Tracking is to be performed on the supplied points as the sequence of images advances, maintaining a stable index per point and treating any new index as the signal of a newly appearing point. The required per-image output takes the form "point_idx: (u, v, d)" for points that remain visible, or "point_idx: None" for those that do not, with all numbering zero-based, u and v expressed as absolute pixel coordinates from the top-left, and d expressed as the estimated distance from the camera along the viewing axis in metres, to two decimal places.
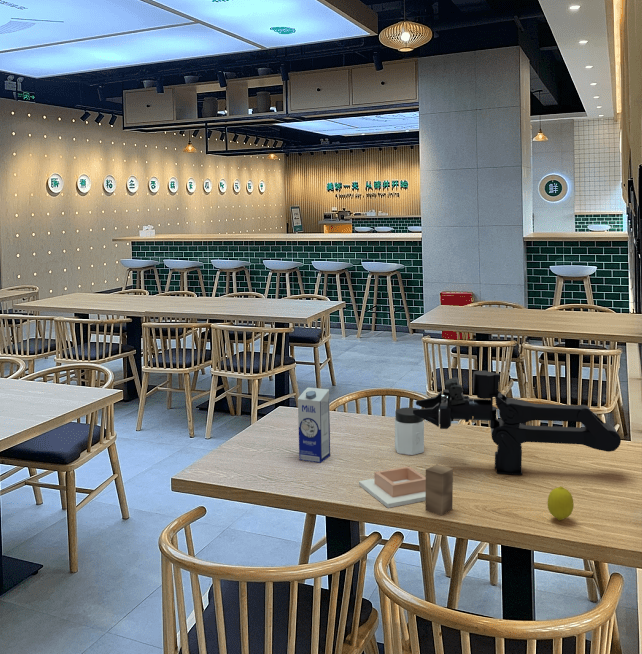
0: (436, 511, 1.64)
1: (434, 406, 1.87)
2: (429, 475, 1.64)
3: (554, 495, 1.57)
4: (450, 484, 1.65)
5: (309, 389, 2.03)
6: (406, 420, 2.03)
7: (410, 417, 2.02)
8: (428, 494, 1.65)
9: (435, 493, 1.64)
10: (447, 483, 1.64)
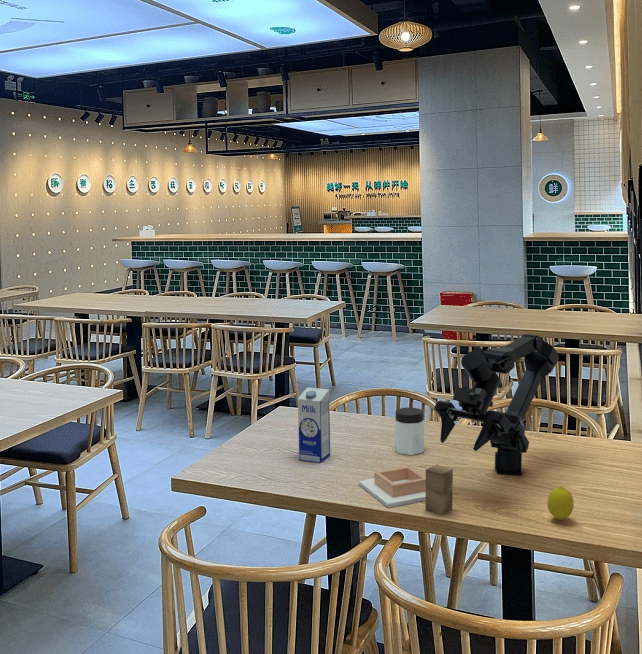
0: (436, 511, 1.64)
1: (483, 426, 1.67)
2: (429, 475, 1.64)
3: (554, 495, 1.57)
4: (450, 484, 1.65)
5: (309, 389, 2.03)
6: (406, 420, 2.03)
7: (410, 417, 2.02)
8: (428, 494, 1.65)
9: (435, 493, 1.64)
10: (447, 483, 1.64)
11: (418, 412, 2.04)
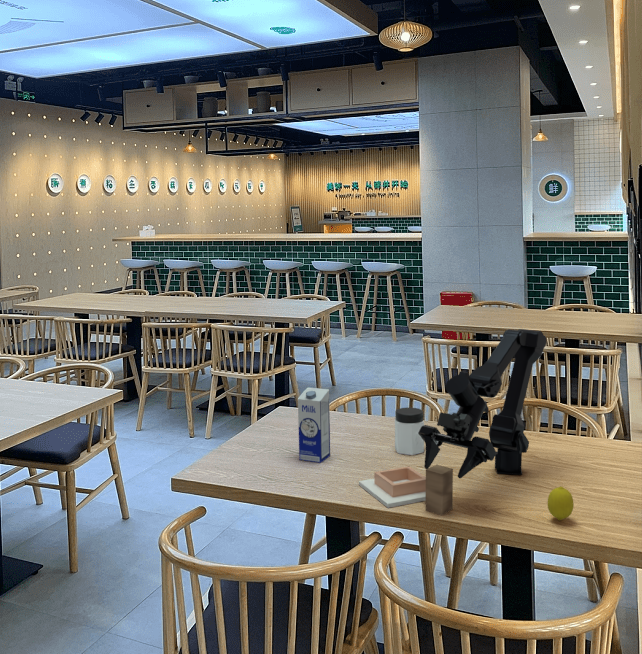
0: (436, 511, 1.64)
1: (468, 452, 1.63)
2: (429, 475, 1.64)
3: (554, 495, 1.57)
4: (450, 484, 1.65)
5: (309, 389, 2.03)
6: (406, 420, 2.03)
7: (410, 417, 2.02)
8: (428, 494, 1.65)
9: (435, 493, 1.64)
10: (447, 483, 1.64)
11: (418, 412, 2.05)
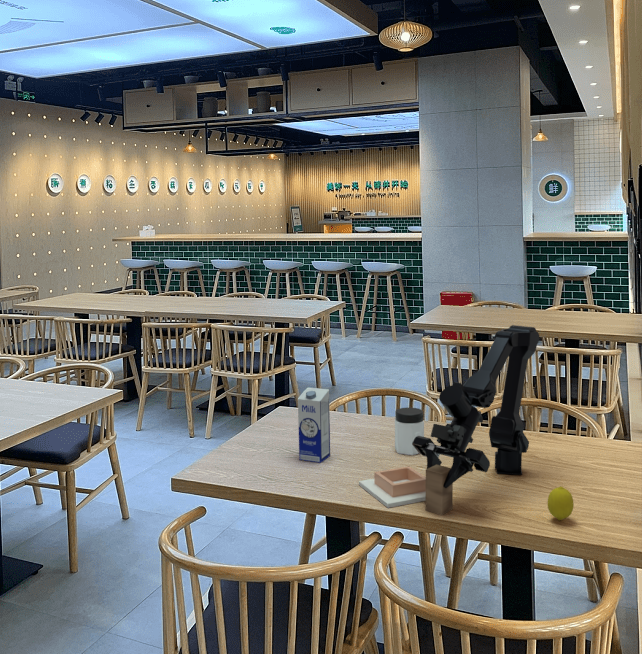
0: (436, 511, 1.64)
1: (453, 462, 1.63)
2: (429, 475, 1.64)
3: (554, 495, 1.57)
4: None
5: (309, 389, 2.03)
6: (406, 420, 2.03)
7: (410, 417, 2.02)
8: (428, 494, 1.65)
9: (435, 493, 1.63)
10: None
11: (418, 412, 2.05)
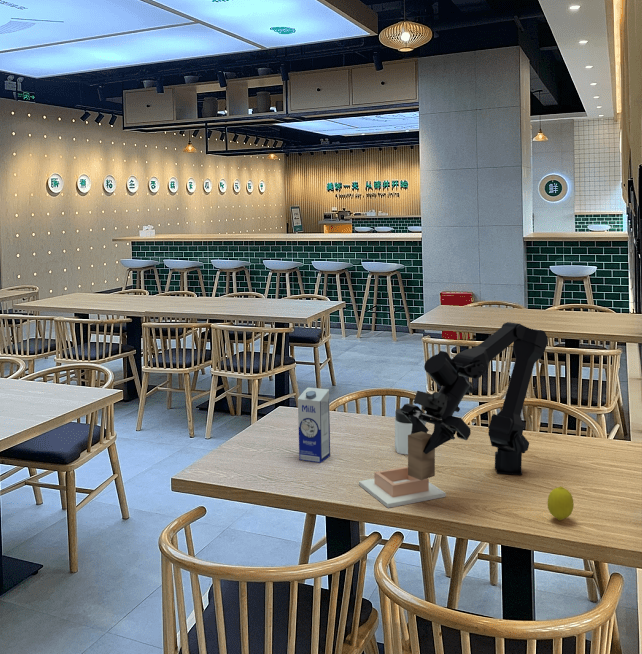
0: (417, 476, 1.67)
1: (434, 429, 1.66)
2: (411, 440, 1.68)
3: (554, 495, 1.57)
4: (432, 450, 1.67)
5: (309, 389, 2.03)
6: (406, 420, 2.03)
7: None
8: (410, 459, 1.69)
9: (415, 459, 1.67)
10: None
11: None
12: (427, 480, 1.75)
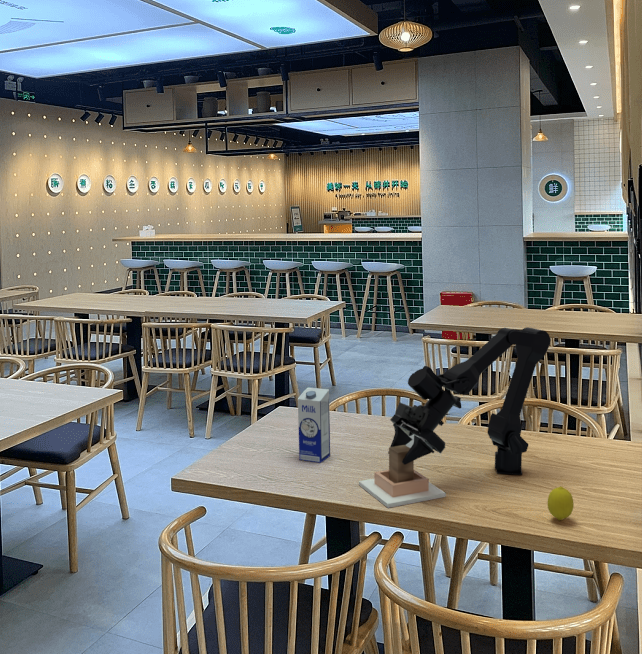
0: None
1: (414, 441, 1.72)
2: (390, 453, 1.77)
3: (554, 495, 1.57)
4: (410, 464, 1.75)
5: (309, 389, 2.03)
6: None
7: None
8: (390, 470, 1.78)
9: (394, 470, 1.76)
10: None
11: None
12: (427, 480, 1.75)
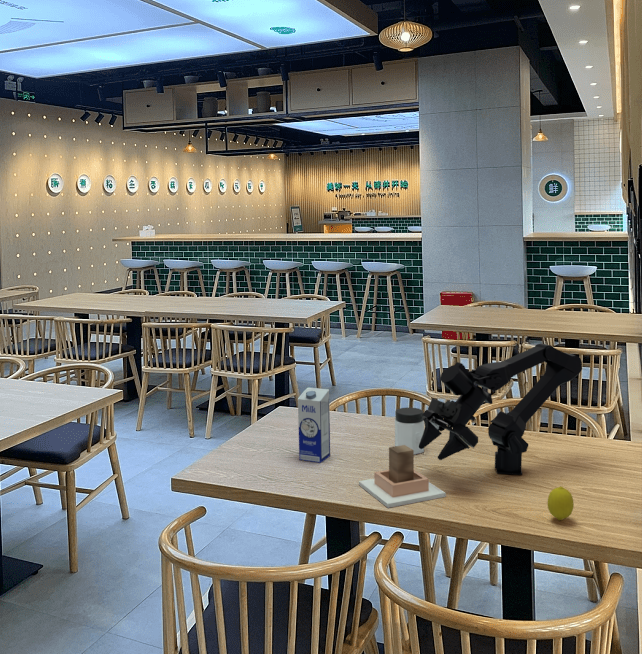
0: None
1: (449, 437, 1.75)
2: (390, 453, 1.77)
3: (554, 495, 1.57)
4: (410, 464, 1.75)
5: (309, 389, 2.03)
6: (406, 420, 2.03)
7: (410, 417, 2.02)
8: (390, 470, 1.78)
9: (394, 470, 1.76)
10: (406, 462, 1.75)
11: (418, 412, 2.05)
12: (427, 480, 1.75)
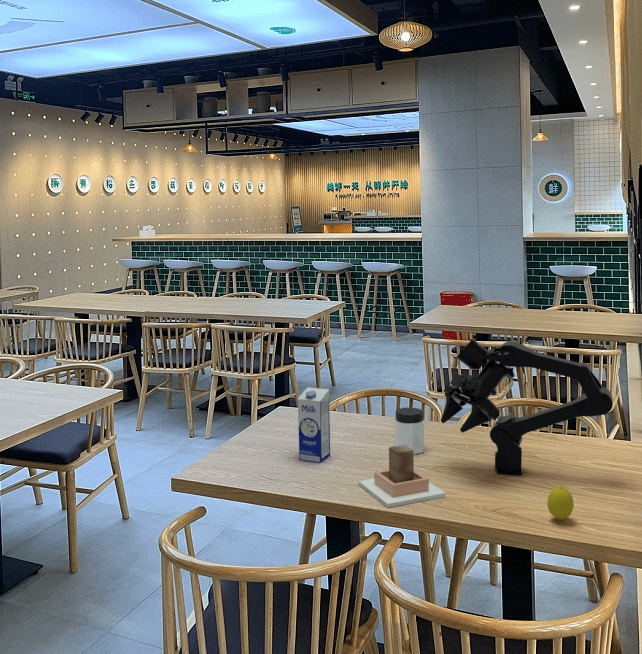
0: None
1: (471, 410, 1.80)
2: (390, 453, 1.77)
3: (554, 495, 1.57)
4: (410, 464, 1.75)
5: (309, 389, 2.03)
6: (406, 420, 2.03)
7: (410, 417, 2.02)
8: (390, 470, 1.78)
9: (394, 470, 1.76)
10: (406, 462, 1.75)
11: (418, 412, 2.05)
12: (427, 480, 1.75)
